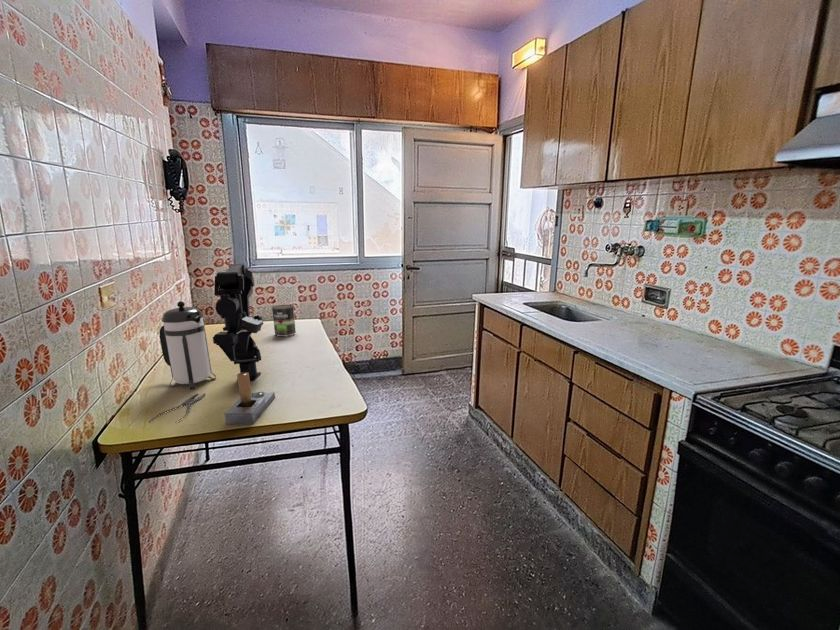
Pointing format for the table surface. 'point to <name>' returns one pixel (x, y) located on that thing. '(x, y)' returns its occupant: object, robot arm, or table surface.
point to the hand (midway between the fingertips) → (239, 356)
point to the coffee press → (185, 345)
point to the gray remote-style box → (248, 409)
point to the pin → (245, 389)
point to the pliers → (188, 401)
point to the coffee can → (284, 320)
